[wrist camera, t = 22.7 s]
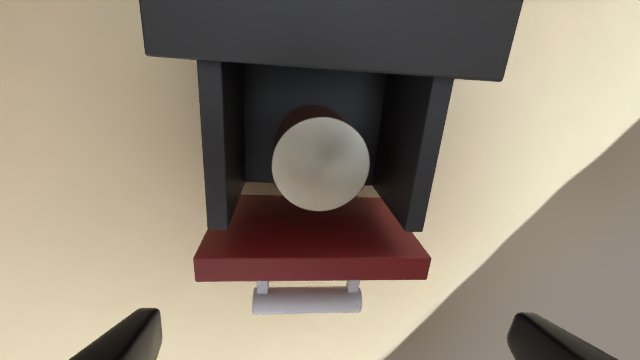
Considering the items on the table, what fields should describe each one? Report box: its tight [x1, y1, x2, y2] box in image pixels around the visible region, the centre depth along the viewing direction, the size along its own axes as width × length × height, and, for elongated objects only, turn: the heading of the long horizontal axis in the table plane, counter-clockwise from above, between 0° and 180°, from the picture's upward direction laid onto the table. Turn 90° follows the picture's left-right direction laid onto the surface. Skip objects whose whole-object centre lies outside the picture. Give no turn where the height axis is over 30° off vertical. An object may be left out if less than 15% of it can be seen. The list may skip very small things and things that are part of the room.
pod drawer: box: [193, 60, 454, 315], centre depth 15 cm, size 17×10×7 cm, turn 176°
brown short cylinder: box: [272, 105, 370, 211], centre depth 15 cm, size 4×4×4 cm
